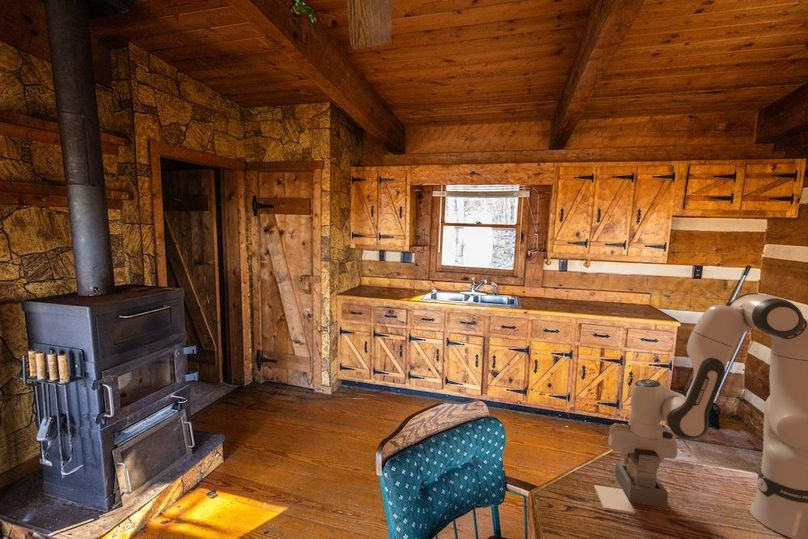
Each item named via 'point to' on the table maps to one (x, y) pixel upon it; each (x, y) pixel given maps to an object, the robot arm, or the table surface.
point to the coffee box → (642, 467)
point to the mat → (613, 499)
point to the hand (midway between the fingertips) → (640, 465)
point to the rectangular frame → (641, 489)
